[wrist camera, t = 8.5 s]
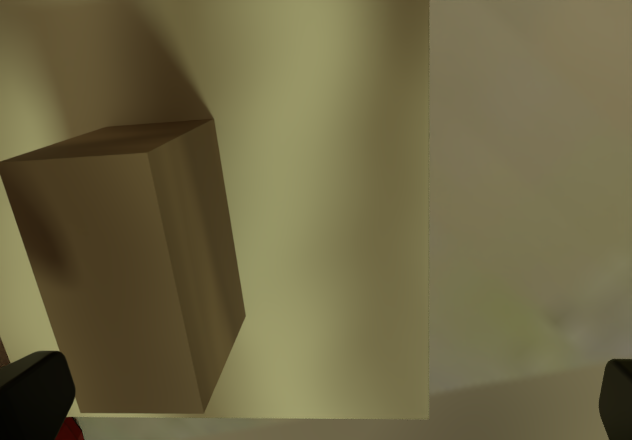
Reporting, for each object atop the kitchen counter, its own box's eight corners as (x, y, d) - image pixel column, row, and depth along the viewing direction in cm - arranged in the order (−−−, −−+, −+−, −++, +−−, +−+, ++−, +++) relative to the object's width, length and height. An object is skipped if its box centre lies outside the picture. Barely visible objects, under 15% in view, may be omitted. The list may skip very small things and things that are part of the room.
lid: (424, -78, 11) (468, -163, 6) (425, 401, 16) (450, 545, 11) (-107, -14, 12) (-371, -45, 8) (45, 400, 17) (-65, 524, 13)
